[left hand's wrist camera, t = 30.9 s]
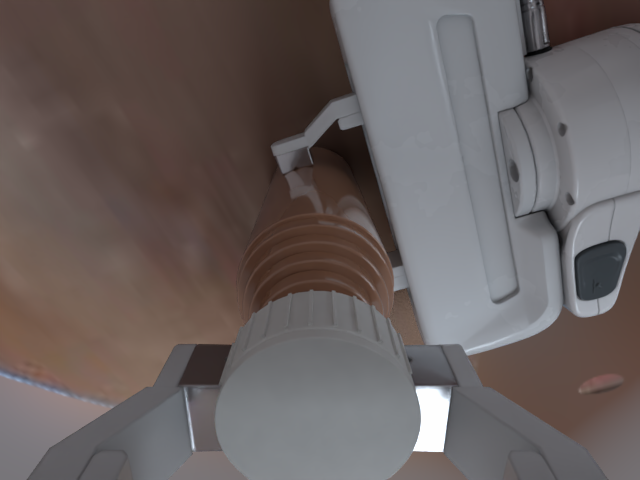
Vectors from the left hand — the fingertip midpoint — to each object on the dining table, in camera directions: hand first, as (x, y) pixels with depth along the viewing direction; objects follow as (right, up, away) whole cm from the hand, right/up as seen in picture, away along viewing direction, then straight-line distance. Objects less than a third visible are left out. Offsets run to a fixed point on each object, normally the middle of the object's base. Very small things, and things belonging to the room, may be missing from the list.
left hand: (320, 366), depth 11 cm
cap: (0, -1, -2) cm, 2 cm away
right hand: (-1, +4, +12) cm, 13 cm away
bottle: (0, +6, +17) cm, 19 cm away
